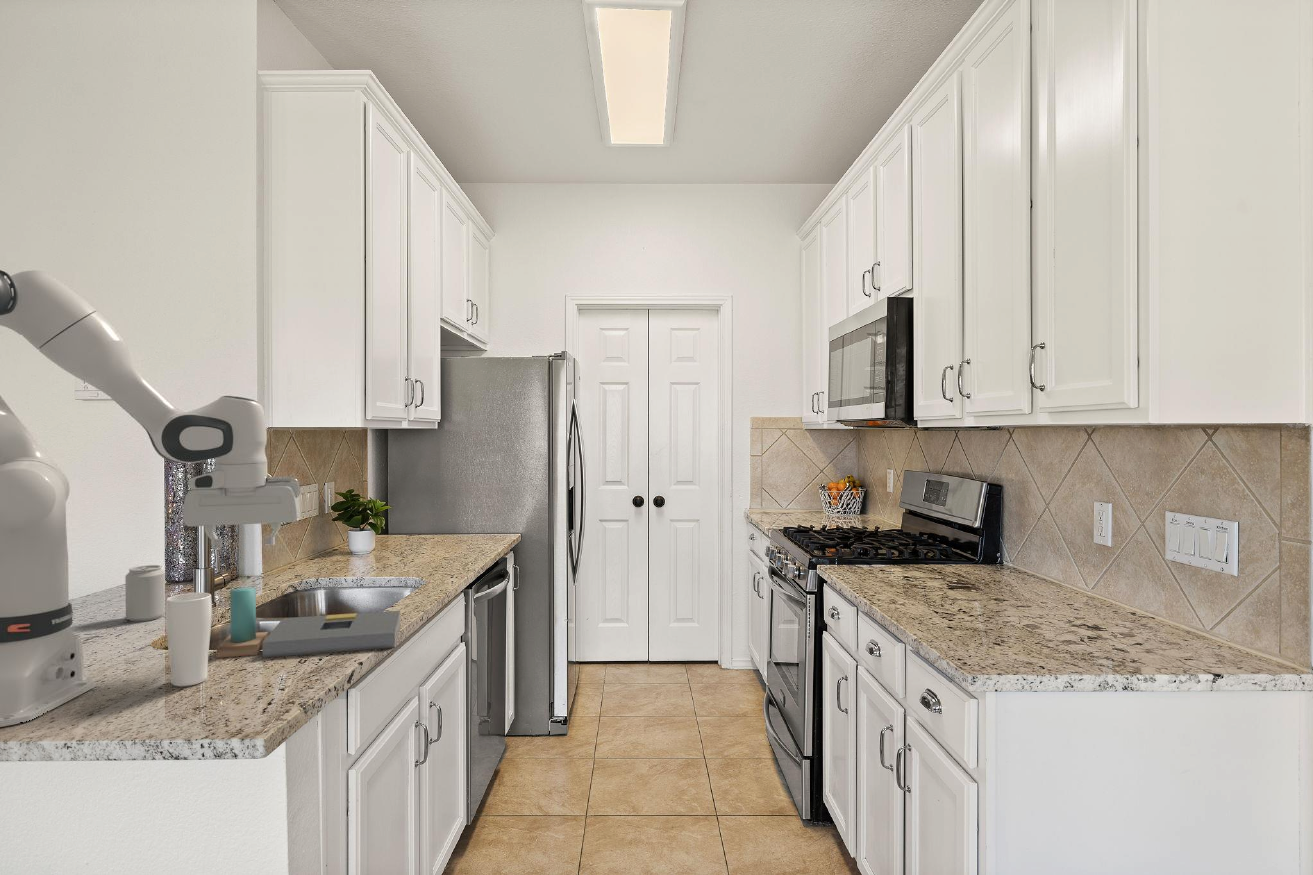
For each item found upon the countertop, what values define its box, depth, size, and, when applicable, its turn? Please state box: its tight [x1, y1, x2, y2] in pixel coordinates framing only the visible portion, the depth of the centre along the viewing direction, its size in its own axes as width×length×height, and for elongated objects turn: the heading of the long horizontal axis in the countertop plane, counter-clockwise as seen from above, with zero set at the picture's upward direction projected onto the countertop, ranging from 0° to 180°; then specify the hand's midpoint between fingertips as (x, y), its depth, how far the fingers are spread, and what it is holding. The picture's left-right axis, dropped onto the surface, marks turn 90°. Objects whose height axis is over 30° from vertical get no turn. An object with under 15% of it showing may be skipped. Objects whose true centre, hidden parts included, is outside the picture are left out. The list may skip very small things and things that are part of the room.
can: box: [124, 564, 166, 623], centre depth 165 cm, size 8×8×12 cm
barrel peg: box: [229, 586, 257, 643], centre depth 143 cm, size 4×4×10 cm
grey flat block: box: [262, 610, 401, 659], centre depth 149 cm, size 18×24×3 cm
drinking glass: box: [164, 592, 213, 688], centre depth 124 cm, size 7×7×15 cm
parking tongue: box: [216, 631, 269, 659], centre depth 143 cm, size 9×7×2 cm
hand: (243, 546), depth 143 cm, fingers open, 8 cm apart
